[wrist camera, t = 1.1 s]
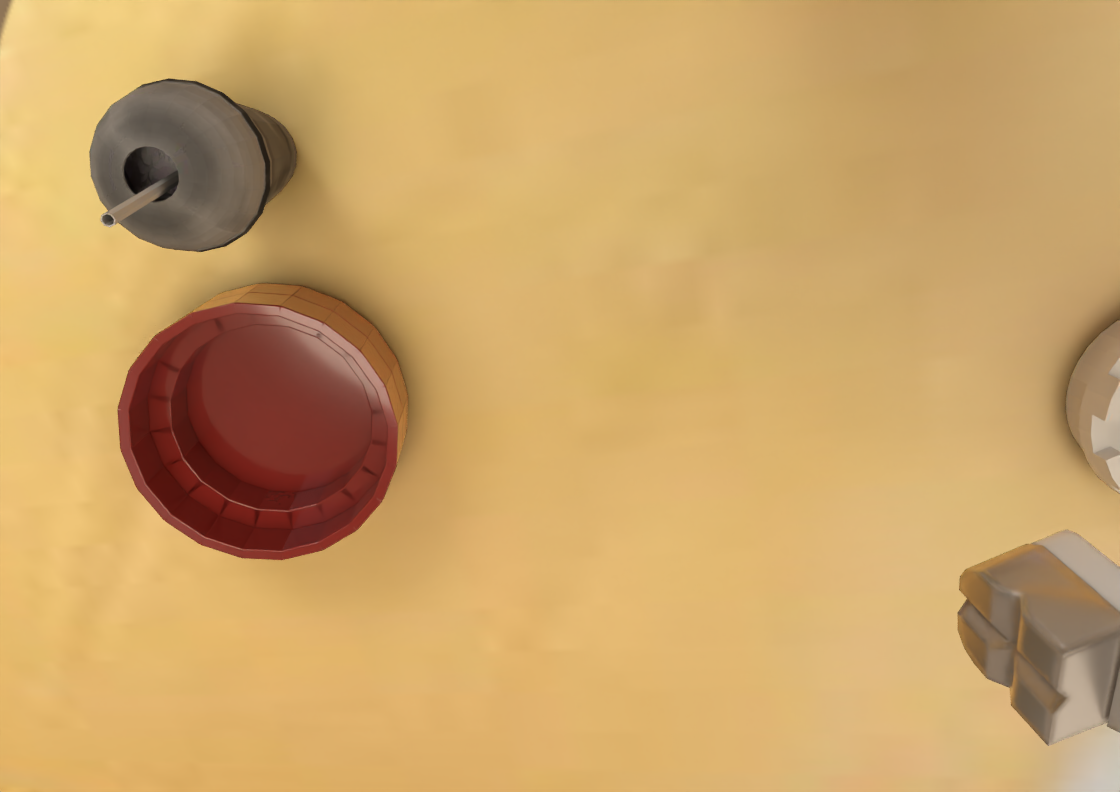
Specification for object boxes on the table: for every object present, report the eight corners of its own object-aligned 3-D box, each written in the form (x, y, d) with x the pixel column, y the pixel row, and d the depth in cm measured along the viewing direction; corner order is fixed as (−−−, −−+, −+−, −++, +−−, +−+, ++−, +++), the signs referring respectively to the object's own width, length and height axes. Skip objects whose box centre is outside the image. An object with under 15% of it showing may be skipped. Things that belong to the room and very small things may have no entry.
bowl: (153, 272, 51) (108, 293, 45) (412, 291, 52) (401, 314, 46) (165, 507, 55) (127, 553, 50) (404, 519, 57) (393, 565, 51)
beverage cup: (312, 80, 48) (187, 64, 29) (330, 216, 50) (226, 282, 31) (176, 88, 48) (-39, 78, 29) (201, 224, 50) (17, 296, 31)
